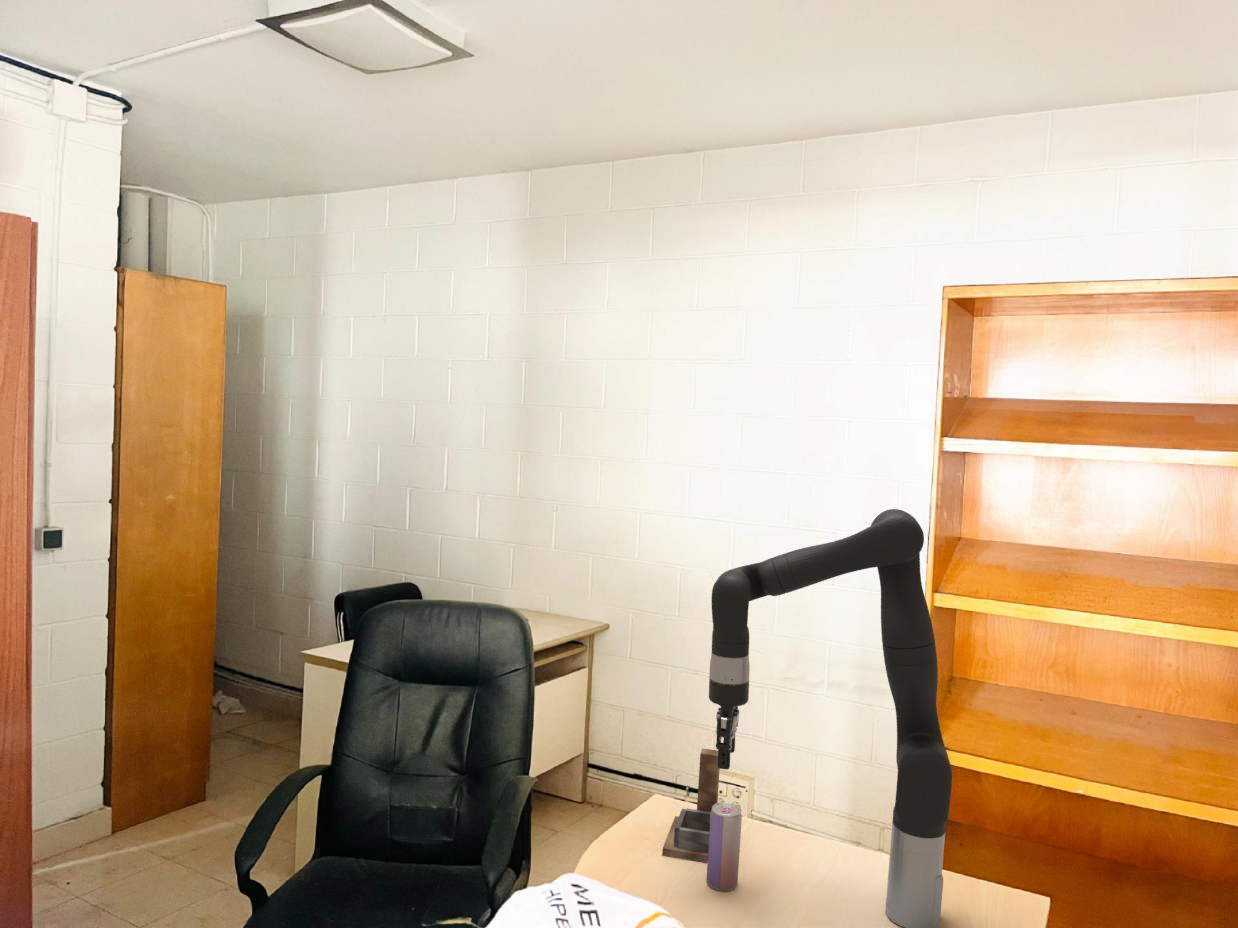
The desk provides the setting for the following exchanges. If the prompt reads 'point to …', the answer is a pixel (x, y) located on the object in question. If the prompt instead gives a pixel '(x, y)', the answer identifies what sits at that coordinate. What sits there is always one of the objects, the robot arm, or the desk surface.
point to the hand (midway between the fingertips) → (726, 759)
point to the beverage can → (724, 846)
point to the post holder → (696, 815)
